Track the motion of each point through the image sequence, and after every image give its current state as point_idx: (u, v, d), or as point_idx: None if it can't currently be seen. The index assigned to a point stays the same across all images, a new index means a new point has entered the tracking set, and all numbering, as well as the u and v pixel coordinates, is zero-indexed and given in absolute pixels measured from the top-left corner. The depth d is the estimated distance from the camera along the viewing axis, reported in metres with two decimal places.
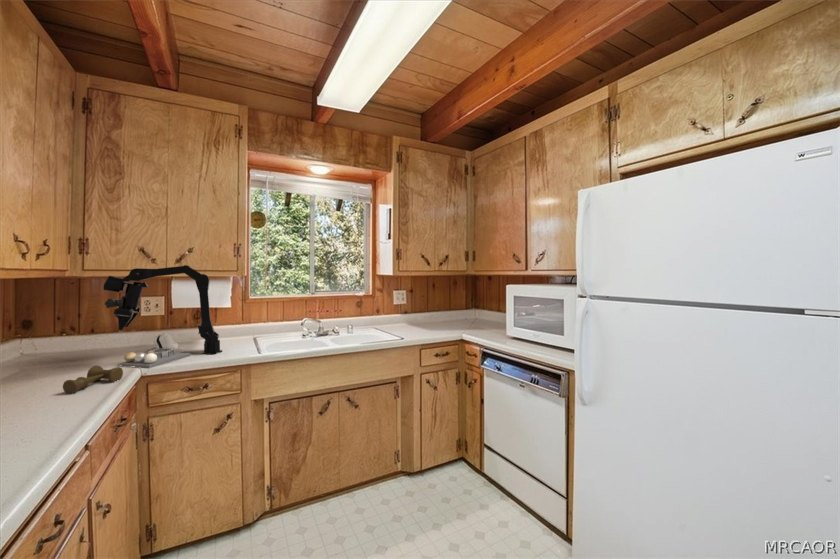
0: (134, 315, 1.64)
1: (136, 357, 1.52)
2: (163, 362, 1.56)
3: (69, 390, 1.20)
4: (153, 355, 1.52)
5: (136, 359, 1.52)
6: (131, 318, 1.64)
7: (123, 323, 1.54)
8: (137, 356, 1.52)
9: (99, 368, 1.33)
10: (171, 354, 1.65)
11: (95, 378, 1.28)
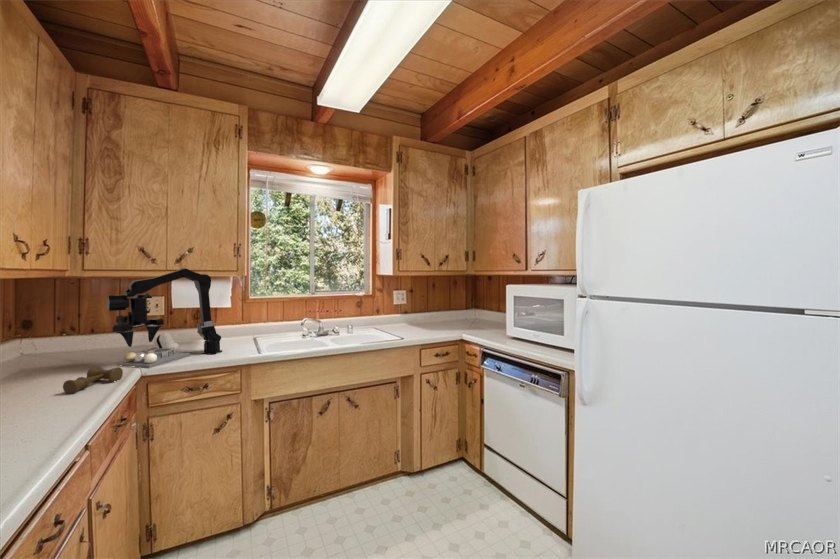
0: (154, 329, 1.58)
1: (136, 357, 1.52)
2: (163, 362, 1.56)
3: (69, 390, 1.19)
4: (153, 355, 1.52)
5: (136, 359, 1.52)
6: (152, 332, 1.58)
7: (128, 339, 1.48)
8: (137, 356, 1.52)
9: (99, 368, 1.33)
10: (171, 354, 1.65)
11: (95, 378, 1.28)
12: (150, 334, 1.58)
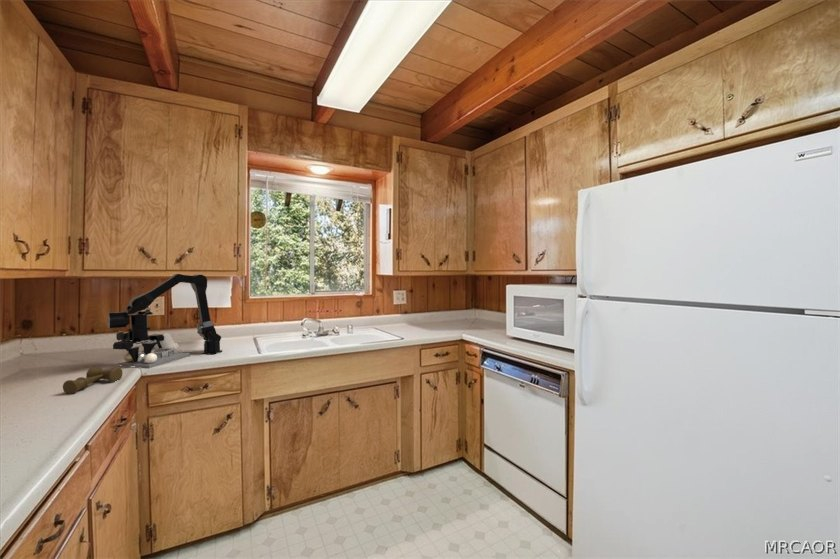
0: (149, 346, 1.56)
1: None
2: (163, 362, 1.56)
3: (69, 390, 1.19)
4: (153, 355, 1.52)
5: None
6: (148, 350, 1.56)
7: (133, 355, 1.50)
8: None
9: (98, 368, 1.33)
10: (171, 354, 1.65)
11: (95, 378, 1.28)
12: (146, 351, 1.56)
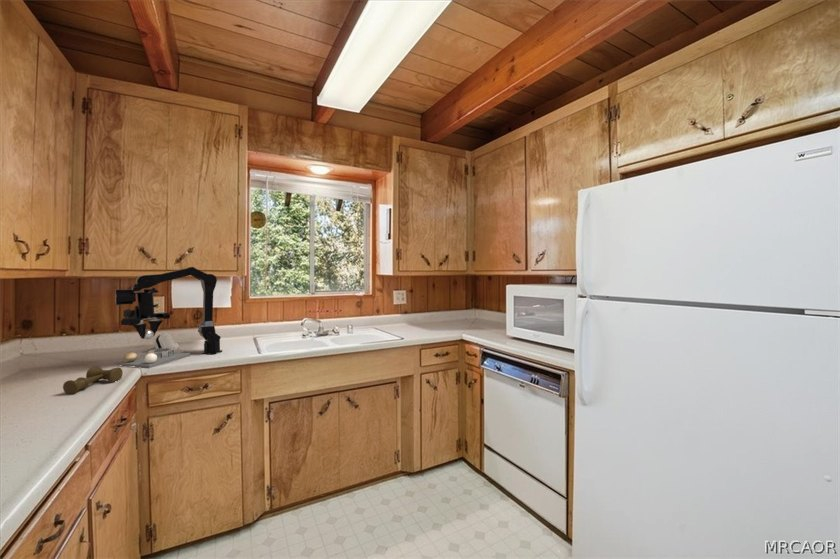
0: (156, 323, 1.60)
1: None
2: (163, 362, 1.56)
3: (70, 390, 1.19)
4: (153, 355, 1.52)
5: None
6: (154, 327, 1.60)
7: (141, 331, 1.54)
8: None
9: (98, 368, 1.33)
10: (171, 354, 1.65)
11: (95, 378, 1.28)
12: (152, 328, 1.60)
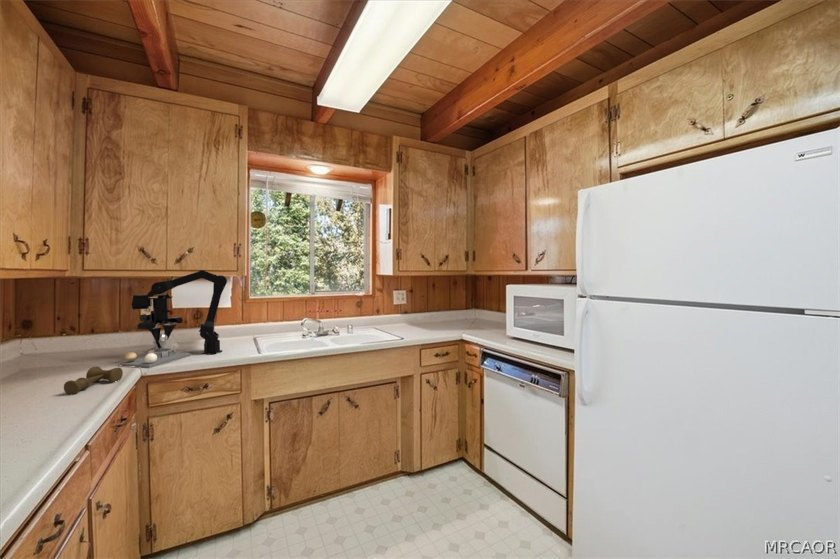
0: (170, 327, 1.68)
1: None
2: (163, 362, 1.56)
3: (70, 391, 1.19)
4: (153, 355, 1.52)
5: None
6: (168, 331, 1.68)
7: (155, 335, 1.62)
8: None
9: (98, 369, 1.32)
10: (171, 354, 1.65)
11: (95, 379, 1.28)
12: (166, 332, 1.68)
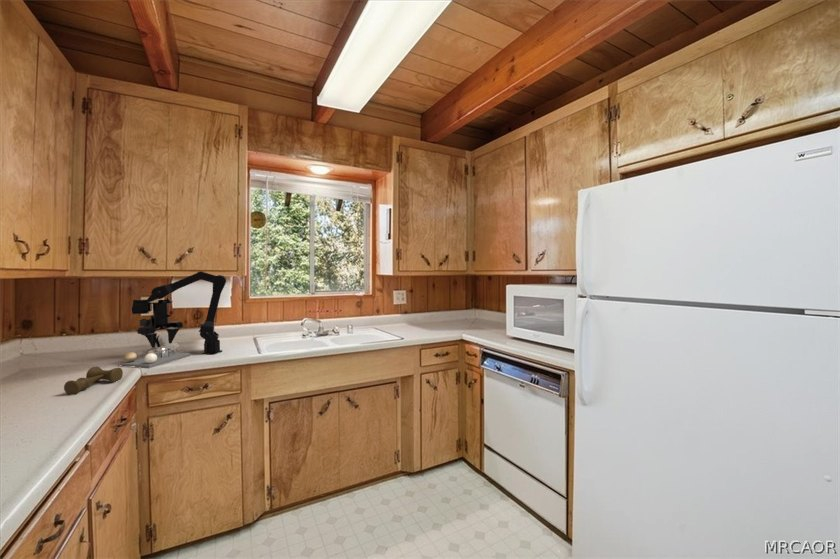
0: (173, 331, 1.70)
1: (158, 350, 1.64)
2: (163, 362, 1.56)
3: (71, 391, 1.19)
4: (153, 355, 1.52)
5: None
6: (172, 334, 1.70)
7: (151, 341, 1.60)
8: (159, 349, 1.64)
9: (98, 369, 1.32)
10: (171, 354, 1.65)
11: (95, 379, 1.27)
12: (170, 336, 1.70)
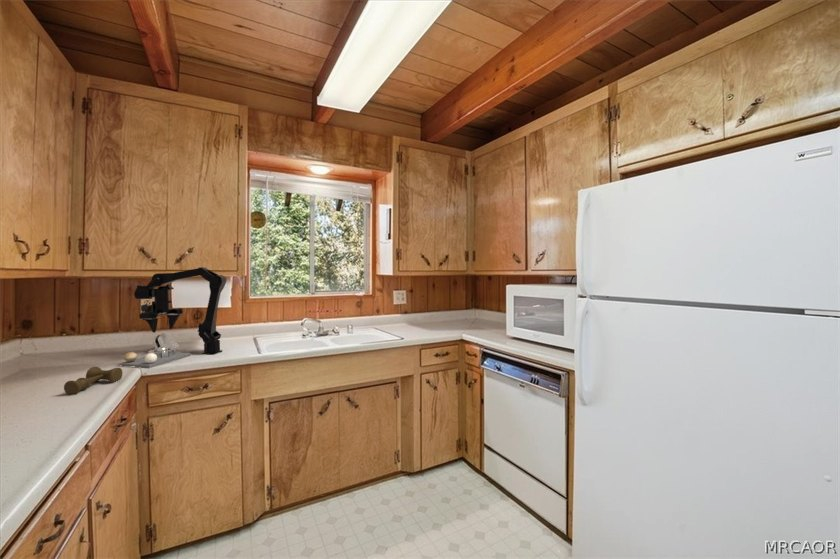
0: (174, 317, 1.75)
1: (158, 350, 1.64)
2: (163, 362, 1.56)
3: (71, 391, 1.19)
4: (153, 355, 1.52)
5: None
6: (172, 320, 1.75)
7: (152, 326, 1.65)
8: (159, 349, 1.65)
9: (98, 369, 1.32)
10: (171, 354, 1.65)
11: (95, 379, 1.27)
12: (170, 322, 1.75)
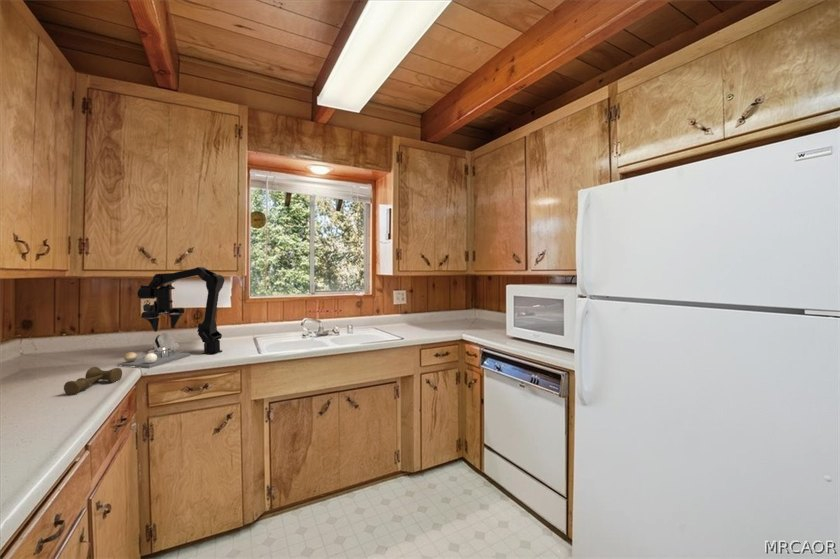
0: (176, 317, 1.78)
1: (159, 349, 1.65)
2: (163, 362, 1.56)
3: (71, 391, 1.19)
4: (153, 355, 1.52)
5: (158, 351, 1.64)
6: (174, 320, 1.78)
7: (154, 325, 1.68)
8: (160, 349, 1.65)
9: (97, 369, 1.32)
10: (171, 354, 1.65)
11: (95, 379, 1.27)
12: (172, 321, 1.78)
